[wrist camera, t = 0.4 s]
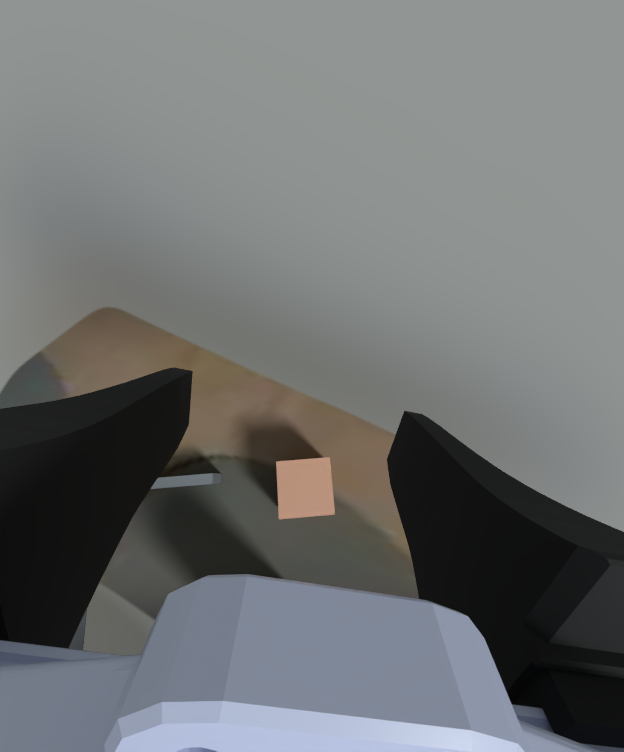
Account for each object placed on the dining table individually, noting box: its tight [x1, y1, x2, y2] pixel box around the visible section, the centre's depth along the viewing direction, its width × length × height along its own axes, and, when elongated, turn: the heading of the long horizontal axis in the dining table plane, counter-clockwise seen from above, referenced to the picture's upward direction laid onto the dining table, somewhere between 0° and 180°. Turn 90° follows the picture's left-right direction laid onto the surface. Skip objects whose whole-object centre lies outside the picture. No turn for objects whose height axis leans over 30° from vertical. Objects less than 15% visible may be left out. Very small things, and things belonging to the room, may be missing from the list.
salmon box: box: [276, 457, 335, 519], centre depth 34 cm, size 5×5×6 cm
